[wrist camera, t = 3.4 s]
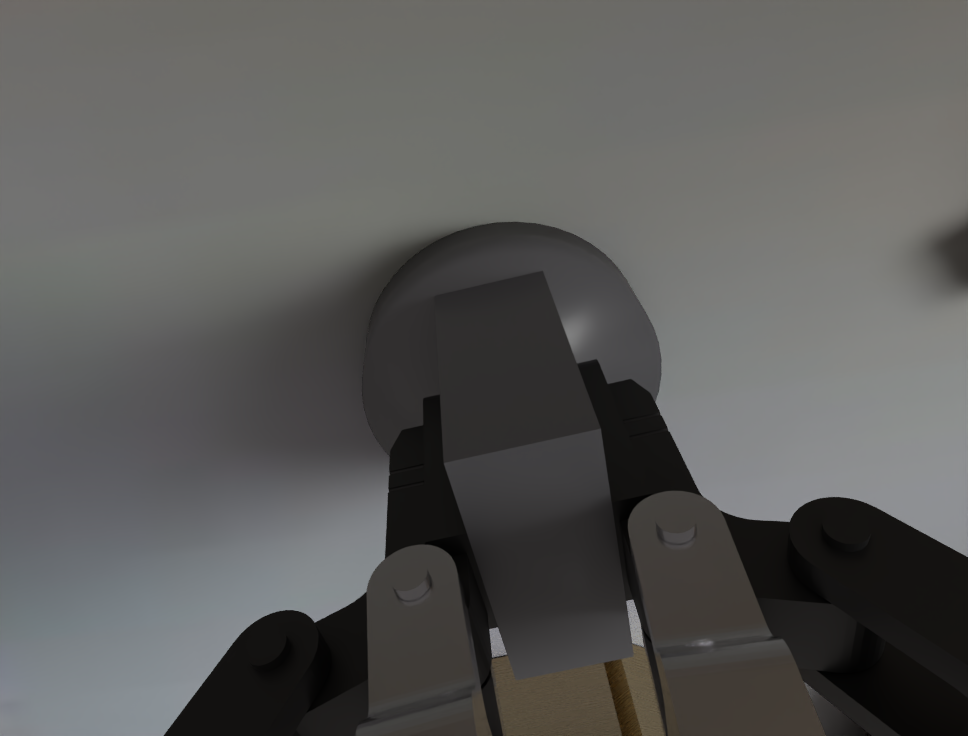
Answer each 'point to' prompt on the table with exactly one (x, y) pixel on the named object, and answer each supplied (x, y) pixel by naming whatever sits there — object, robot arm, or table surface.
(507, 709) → the octagonal wooden ring
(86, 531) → the table surface
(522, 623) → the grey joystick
